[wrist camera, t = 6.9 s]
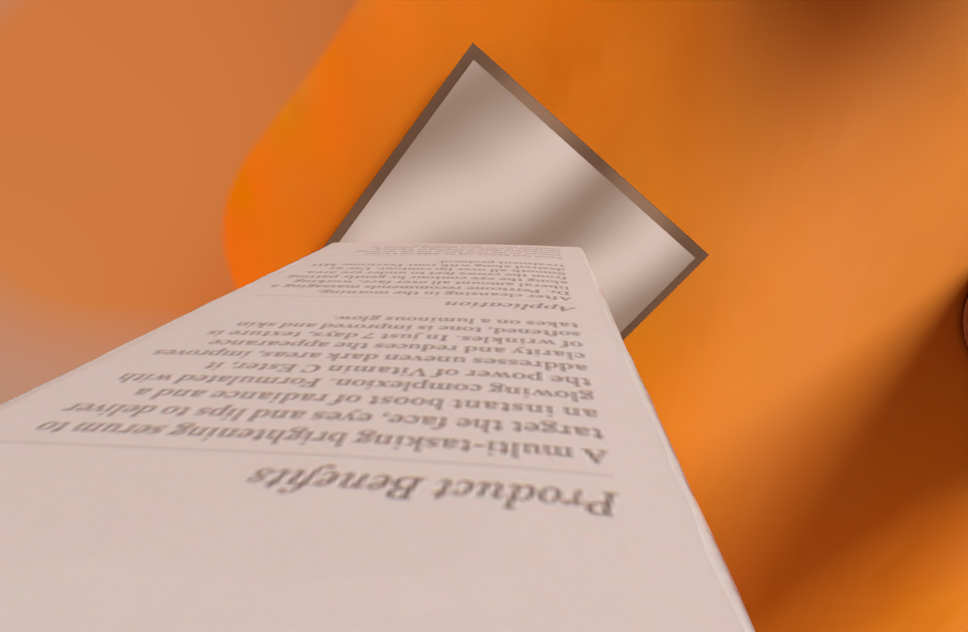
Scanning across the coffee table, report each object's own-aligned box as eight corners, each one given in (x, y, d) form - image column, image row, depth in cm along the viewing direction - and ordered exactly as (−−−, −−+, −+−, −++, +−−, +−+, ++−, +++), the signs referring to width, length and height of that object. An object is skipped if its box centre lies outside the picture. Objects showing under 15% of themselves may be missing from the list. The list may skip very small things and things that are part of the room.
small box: (569, 550, 14) (658, 1587, 4) (354, 537, 14) (-46, 1434, 4) (589, 238, 11) (964, 918, 1) (329, 233, 12) (-724, 727, 2)
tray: (692, 244, 28) (711, 256, 25) (512, 427, 32) (510, 455, 29) (478, 51, 26) (471, 41, 23) (315, 273, 30) (292, 287, 27)
